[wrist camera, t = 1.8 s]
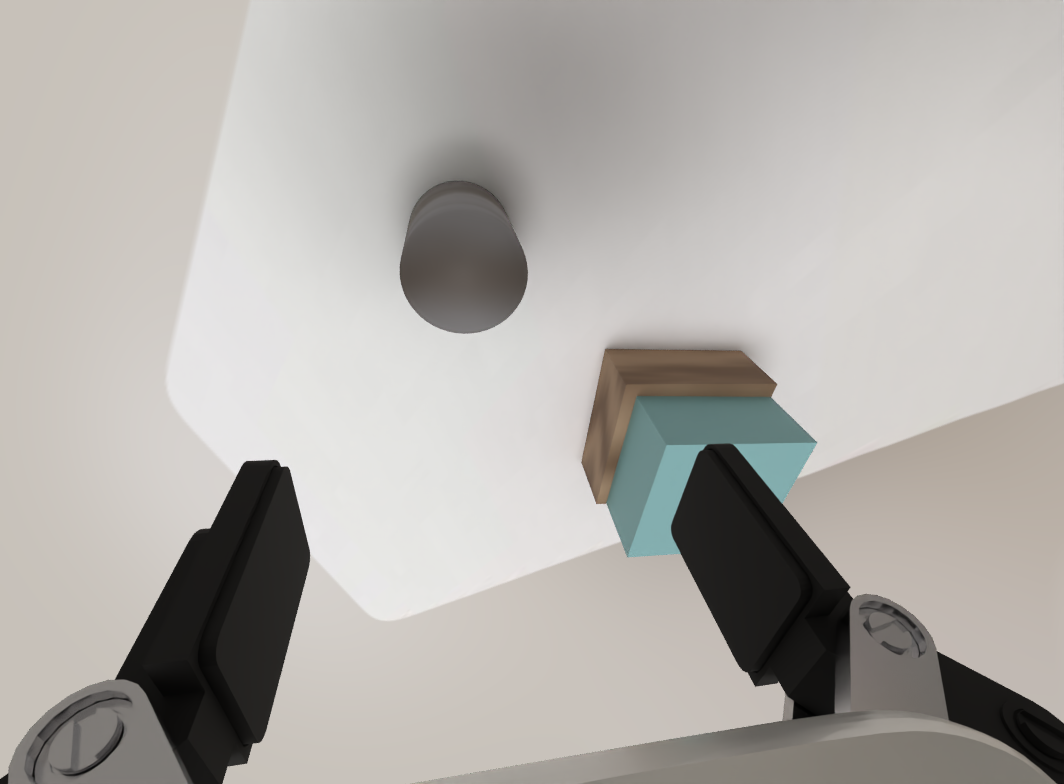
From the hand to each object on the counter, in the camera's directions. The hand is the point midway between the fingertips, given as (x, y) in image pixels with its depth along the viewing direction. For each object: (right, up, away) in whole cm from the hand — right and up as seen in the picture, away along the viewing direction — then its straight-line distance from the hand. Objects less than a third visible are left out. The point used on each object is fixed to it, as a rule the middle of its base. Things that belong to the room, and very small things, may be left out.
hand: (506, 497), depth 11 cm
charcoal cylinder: (-4, +12, +17) cm, 21 cm away
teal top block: (+12, -2, +24) cm, 26 cm away
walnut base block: (+11, +1, +27) cm, 29 cm away
